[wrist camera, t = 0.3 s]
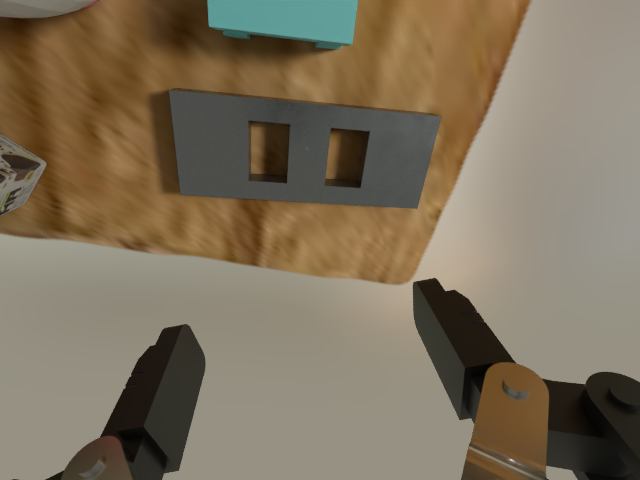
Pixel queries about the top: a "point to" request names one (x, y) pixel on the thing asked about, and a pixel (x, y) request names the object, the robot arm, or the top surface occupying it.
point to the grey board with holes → (299, 149)
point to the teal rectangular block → (287, 20)
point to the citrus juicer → (41, 7)
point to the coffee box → (17, 174)
